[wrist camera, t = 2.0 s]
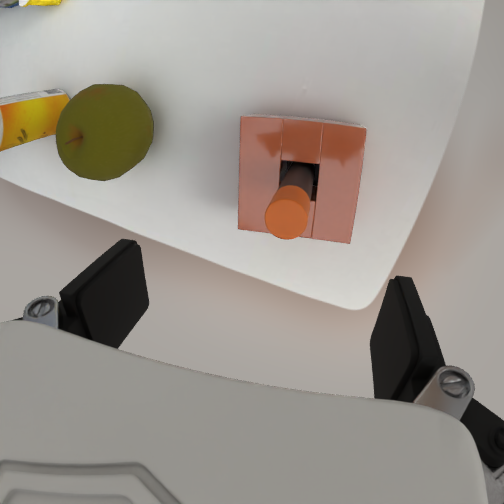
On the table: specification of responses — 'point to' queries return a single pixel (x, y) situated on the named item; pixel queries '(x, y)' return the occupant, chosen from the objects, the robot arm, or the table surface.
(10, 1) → the milk carton
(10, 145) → the beer can
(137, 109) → the apple
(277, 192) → the marker
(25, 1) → the watch
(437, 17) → the table surface
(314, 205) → the holder
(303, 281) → the table surface
